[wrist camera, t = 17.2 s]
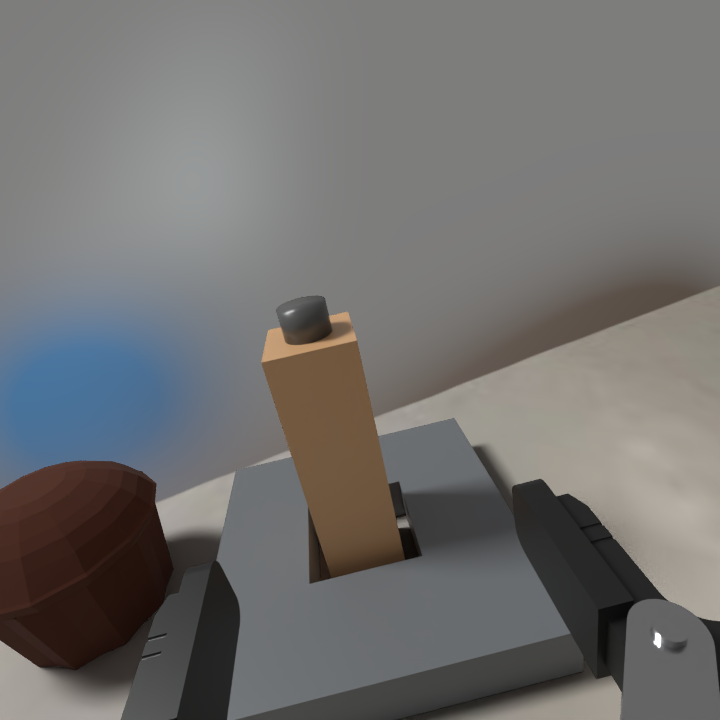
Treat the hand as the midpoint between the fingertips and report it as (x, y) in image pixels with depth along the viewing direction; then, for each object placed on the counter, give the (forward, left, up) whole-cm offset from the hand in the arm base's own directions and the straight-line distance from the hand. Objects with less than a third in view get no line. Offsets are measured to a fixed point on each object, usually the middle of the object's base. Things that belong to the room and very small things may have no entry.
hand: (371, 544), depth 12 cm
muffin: (+19, -14, -14) cm, 28 cm away
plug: (+1, -12, -14) cm, 18 cm away
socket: (+1, -12, -14) cm, 19 cm away
